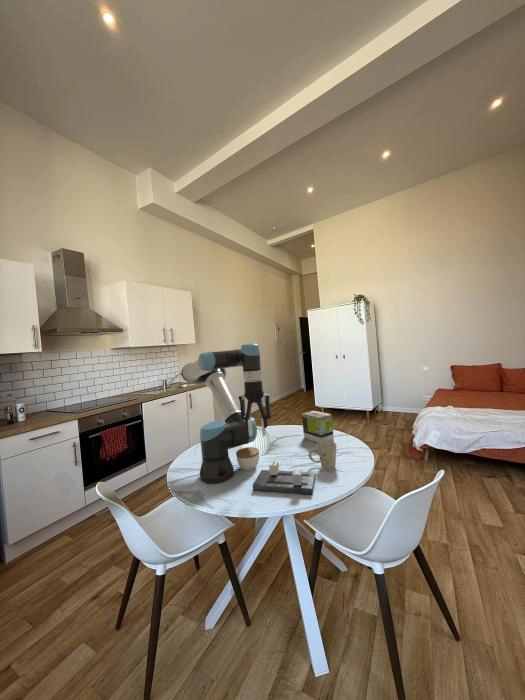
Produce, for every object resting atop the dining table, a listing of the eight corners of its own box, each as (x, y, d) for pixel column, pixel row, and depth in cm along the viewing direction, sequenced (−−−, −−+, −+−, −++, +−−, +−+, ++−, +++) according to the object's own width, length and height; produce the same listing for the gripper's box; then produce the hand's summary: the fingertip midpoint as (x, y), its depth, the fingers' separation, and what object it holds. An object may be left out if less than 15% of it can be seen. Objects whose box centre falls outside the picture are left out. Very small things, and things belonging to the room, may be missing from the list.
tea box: (334, 440, 156) (332, 413, 156) (321, 444, 151) (319, 417, 151) (315, 433, 169) (314, 409, 169) (303, 438, 164) (301, 413, 163)
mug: (338, 471, 120) (336, 447, 119) (309, 470, 122) (307, 448, 122) (337, 462, 128) (335, 440, 128) (309, 462, 130) (307, 441, 130)
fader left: (269, 474, 115) (269, 464, 115) (272, 470, 119) (271, 460, 119) (276, 475, 114) (276, 465, 114) (279, 470, 118) (278, 460, 118)
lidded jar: (240, 475, 124) (238, 454, 124) (235, 465, 134) (233, 446, 134) (263, 469, 127) (261, 449, 127) (256, 461, 137) (255, 442, 137)
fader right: (293, 484, 106) (292, 474, 105) (295, 479, 109) (294, 469, 109) (301, 485, 105) (300, 474, 105) (302, 480, 109) (301, 469, 108)
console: (253, 491, 109) (252, 484, 109) (262, 475, 122) (261, 469, 121) (312, 495, 103) (311, 488, 103) (315, 478, 115) (315, 471, 115)
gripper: (229, 382, 116) (234, 438, 117) (271, 380, 111) (276, 438, 112) (235, 380, 124) (240, 432, 124) (276, 378, 119) (280, 432, 119)
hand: (257, 435), depth 118 cm, fingers open, 5 cm apart
